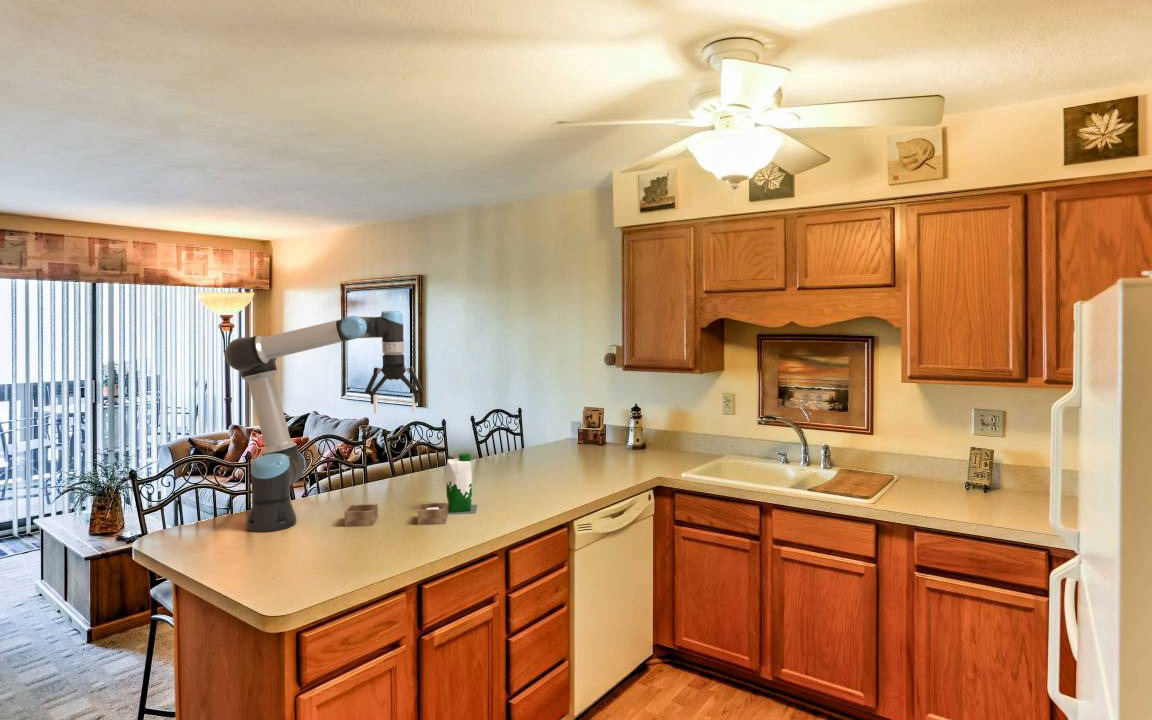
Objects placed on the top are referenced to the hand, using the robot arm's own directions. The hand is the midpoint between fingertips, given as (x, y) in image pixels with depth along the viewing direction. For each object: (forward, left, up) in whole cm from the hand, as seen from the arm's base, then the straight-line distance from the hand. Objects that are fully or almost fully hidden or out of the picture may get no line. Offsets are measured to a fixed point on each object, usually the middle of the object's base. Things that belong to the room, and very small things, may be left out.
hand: (395, 412), depth 237 cm
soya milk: (+23, -3, -36) cm, 42 cm away
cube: (+15, -16, -35) cm, 42 cm away
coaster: (+23, -3, -36) cm, 43 cm away
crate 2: (+15, -16, -36) cm, 42 cm away
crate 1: (-9, -15, -36) cm, 40 cm away
